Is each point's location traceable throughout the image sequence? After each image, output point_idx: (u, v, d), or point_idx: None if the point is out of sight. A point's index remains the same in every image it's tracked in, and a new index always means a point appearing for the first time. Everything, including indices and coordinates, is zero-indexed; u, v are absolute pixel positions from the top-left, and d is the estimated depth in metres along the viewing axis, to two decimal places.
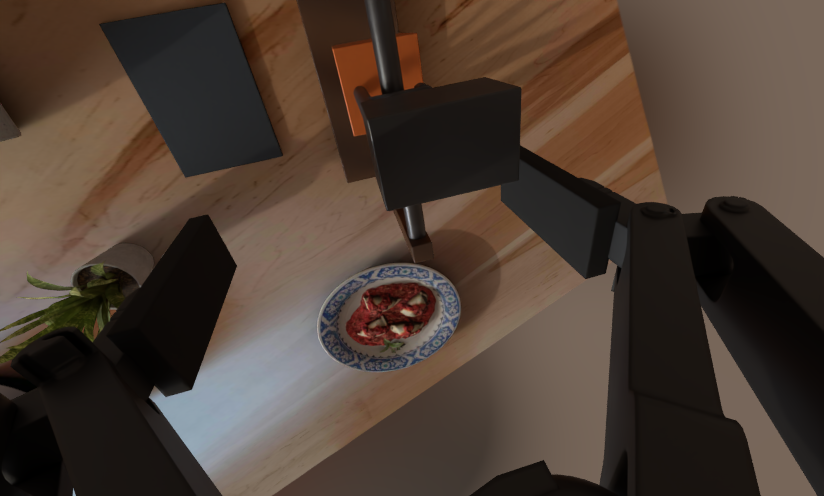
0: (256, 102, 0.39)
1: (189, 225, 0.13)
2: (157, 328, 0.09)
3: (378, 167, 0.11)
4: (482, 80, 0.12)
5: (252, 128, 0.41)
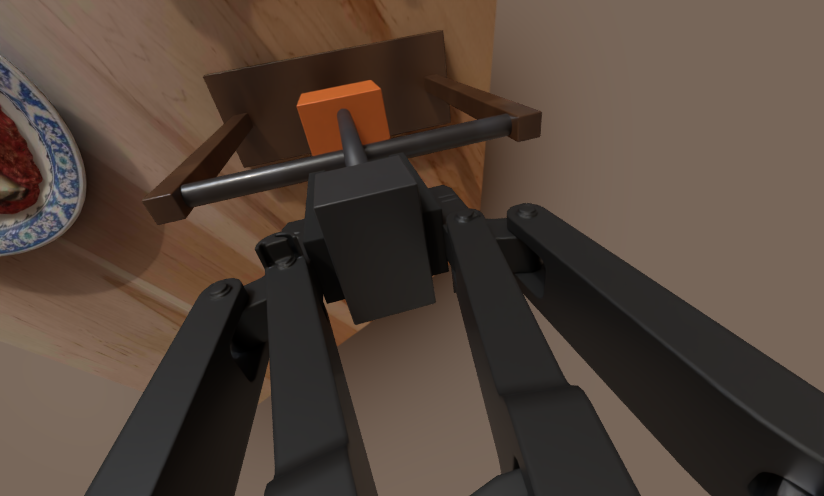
0: None
1: (313, 177, 0.16)
2: None
3: (368, 195, 0.10)
4: None
5: None
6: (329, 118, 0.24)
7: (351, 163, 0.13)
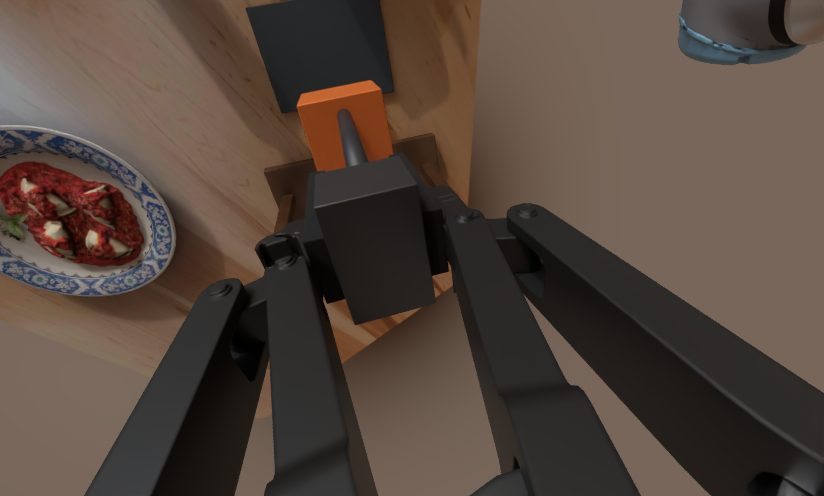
0: None
1: (313, 177, 0.16)
2: None
3: (368, 195, 0.10)
4: None
5: (305, 90, 0.46)
6: (329, 118, 0.24)
7: (351, 163, 0.13)
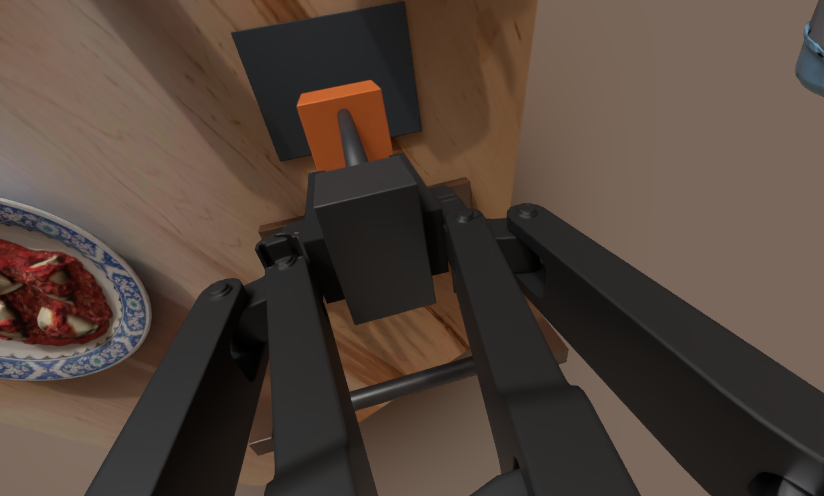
0: None
1: (313, 177, 0.16)
2: None
3: (368, 195, 0.10)
4: None
5: None
6: (329, 118, 0.24)
7: (351, 163, 0.13)
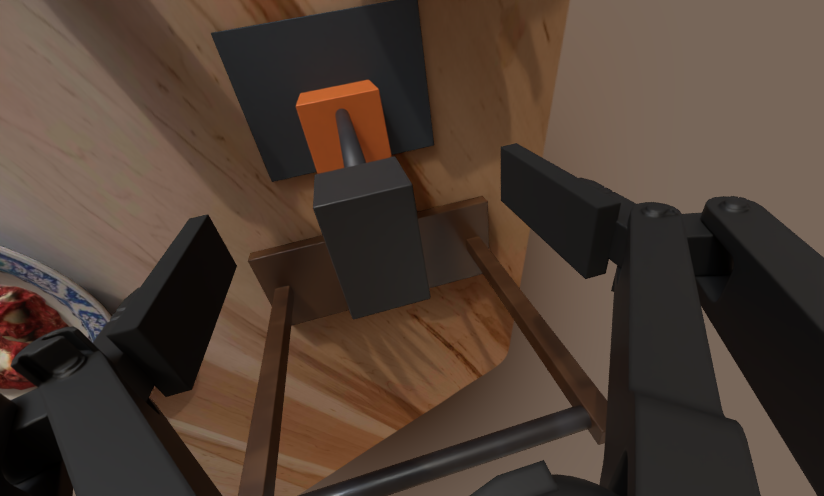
0: None
1: (189, 225, 0.13)
2: (157, 328, 0.09)
3: (365, 196, 0.11)
4: None
5: (305, 149, 0.31)
6: (328, 118, 0.24)
7: (349, 164, 0.14)
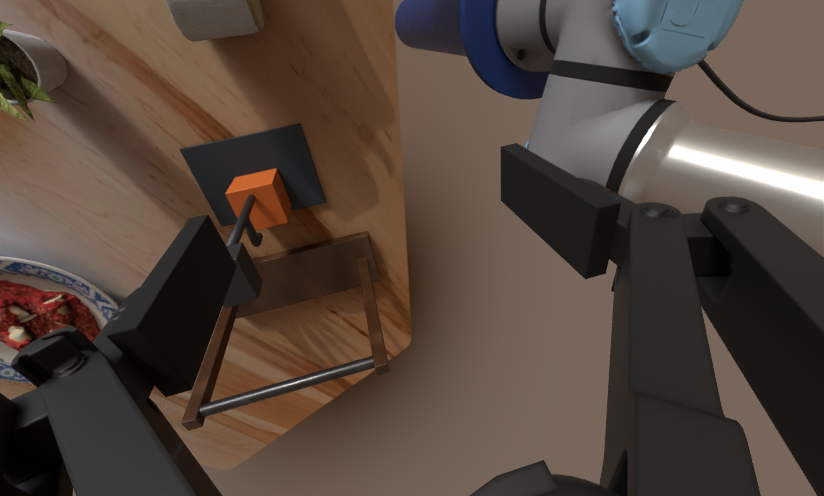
0: None
1: (189, 225, 0.13)
2: (157, 328, 0.09)
3: None
4: (260, 282, 0.35)
5: None
6: (244, 198, 0.44)
7: (227, 243, 0.34)
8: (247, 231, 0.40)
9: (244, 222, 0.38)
